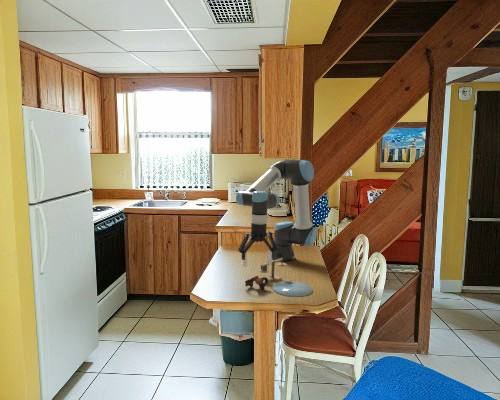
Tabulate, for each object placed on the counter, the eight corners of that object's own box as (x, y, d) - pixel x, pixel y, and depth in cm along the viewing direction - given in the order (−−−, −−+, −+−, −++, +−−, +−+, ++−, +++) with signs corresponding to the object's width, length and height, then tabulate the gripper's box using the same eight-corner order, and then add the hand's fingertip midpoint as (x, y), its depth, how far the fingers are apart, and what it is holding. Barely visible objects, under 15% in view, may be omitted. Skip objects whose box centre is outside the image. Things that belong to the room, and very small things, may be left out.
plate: (299, 280, 219) (299, 279, 219) (320, 293, 201) (320, 292, 201) (265, 284, 211) (265, 283, 211) (284, 298, 193) (284, 297, 193)
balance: (283, 276, 224) (284, 256, 223) (287, 279, 220) (288, 259, 218) (257, 279, 218) (257, 259, 216) (261, 282, 213) (262, 261, 212)
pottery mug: (254, 296, 196) (247, 280, 197) (246, 298, 204) (240, 283, 205) (274, 286, 202) (267, 271, 203) (266, 288, 210) (259, 273, 211)
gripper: (278, 220, 208) (276, 260, 211) (232, 222, 198) (231, 264, 200) (285, 223, 201) (283, 264, 204) (238, 225, 191) (236, 269, 194)
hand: (257, 265), depth 202 cm, fingers open, 13 cm apart
